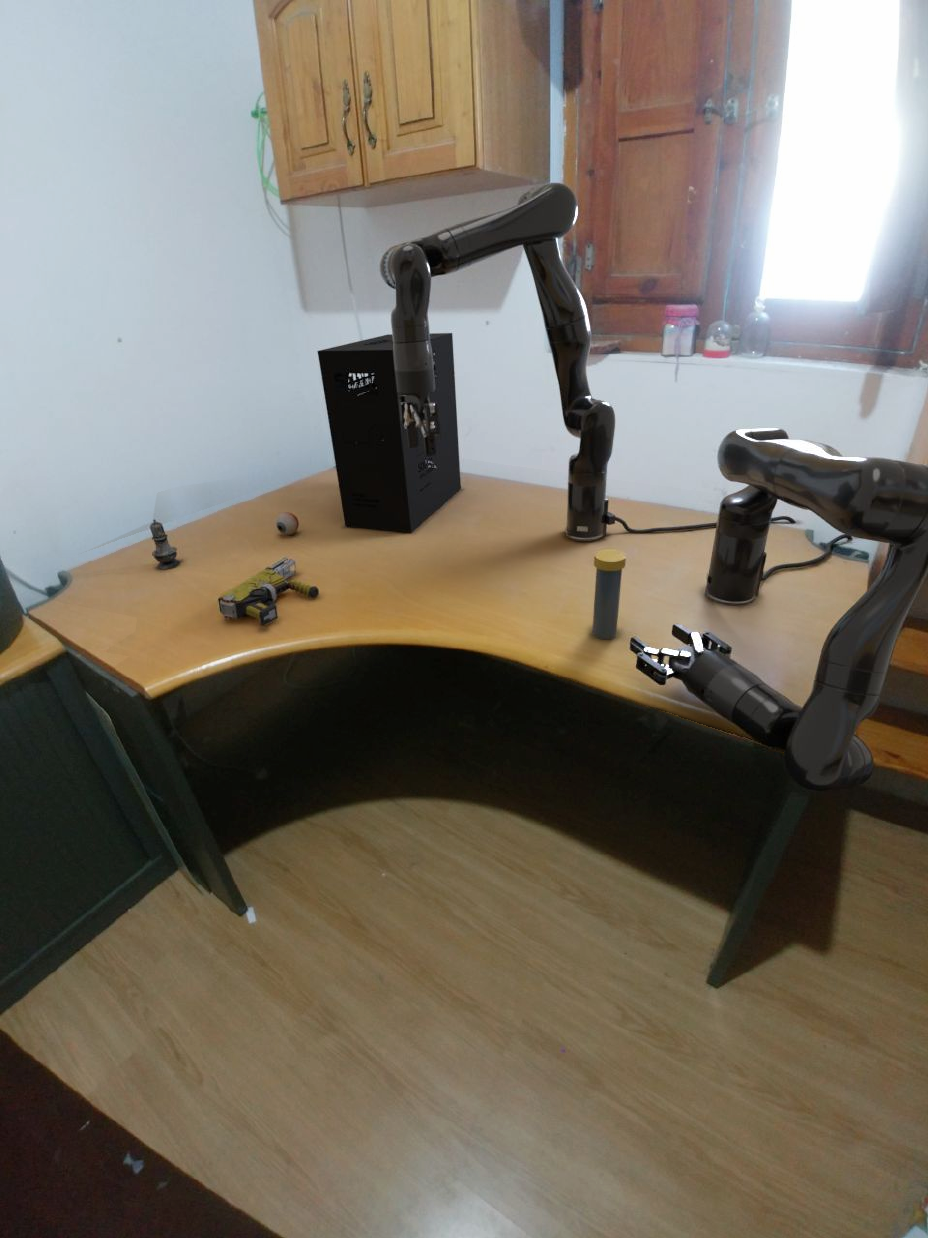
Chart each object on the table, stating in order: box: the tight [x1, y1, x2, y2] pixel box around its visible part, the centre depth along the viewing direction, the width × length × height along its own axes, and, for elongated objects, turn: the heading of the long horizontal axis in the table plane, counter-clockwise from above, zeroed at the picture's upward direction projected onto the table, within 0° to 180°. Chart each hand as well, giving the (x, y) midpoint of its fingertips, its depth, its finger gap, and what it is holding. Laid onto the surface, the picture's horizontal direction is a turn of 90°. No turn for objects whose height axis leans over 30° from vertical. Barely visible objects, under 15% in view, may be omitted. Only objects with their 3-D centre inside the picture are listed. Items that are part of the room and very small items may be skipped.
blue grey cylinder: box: [591, 567, 623, 640], centre depth 109 cm, size 4×4×16 cm
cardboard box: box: [317, 332, 462, 534], centre depth 168 cm, size 38×20×45 cm, turn 159°
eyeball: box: [275, 511, 300, 536], centre depth 163 cm, size 6×6×6 cm
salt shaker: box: [149, 519, 181, 570], centre depth 148 cm, size 6×6×12 cm
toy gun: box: [217, 557, 320, 627], centre depth 130 cm, size 5×24×15 cm
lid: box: [593, 548, 627, 571], centre depth 106 cm, size 5×5×2 cm
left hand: (421, 450), depth 124 cm, fingers open, 8 cm apart
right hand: (652, 635), depth 100 cm, fingers open, 8 cm apart
